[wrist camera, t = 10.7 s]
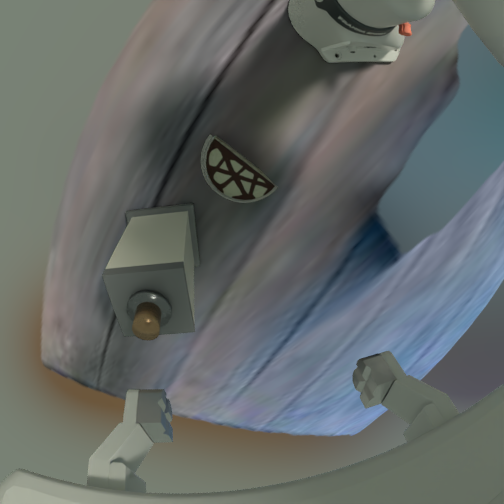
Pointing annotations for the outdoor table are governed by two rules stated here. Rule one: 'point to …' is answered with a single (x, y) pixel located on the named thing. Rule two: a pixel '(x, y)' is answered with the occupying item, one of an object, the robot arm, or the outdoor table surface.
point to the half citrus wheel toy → (233, 173)
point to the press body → (156, 264)
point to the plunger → (148, 313)
